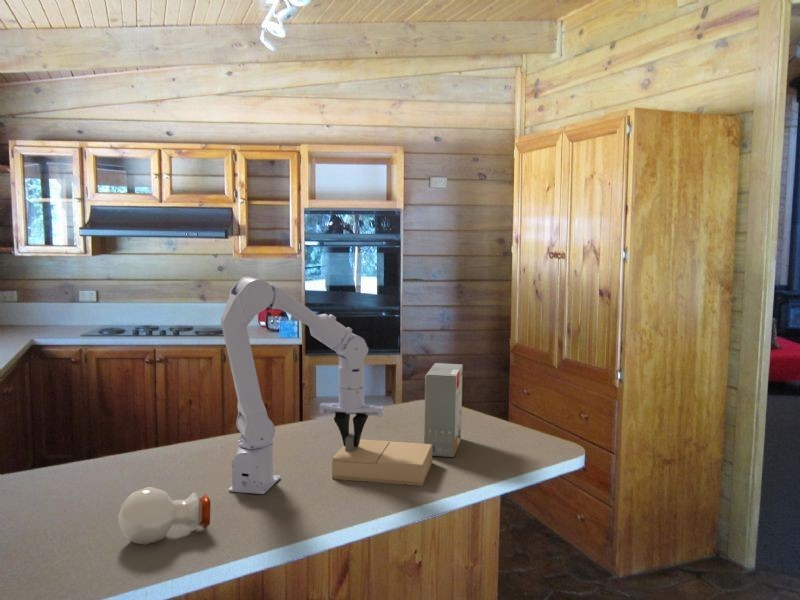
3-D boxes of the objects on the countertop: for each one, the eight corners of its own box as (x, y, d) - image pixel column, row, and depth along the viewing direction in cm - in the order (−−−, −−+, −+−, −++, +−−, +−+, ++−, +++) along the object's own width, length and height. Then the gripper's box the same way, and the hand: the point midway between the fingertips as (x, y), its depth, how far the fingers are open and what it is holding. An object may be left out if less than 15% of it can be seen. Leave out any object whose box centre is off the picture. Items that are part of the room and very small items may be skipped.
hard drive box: (454, 458, 157) (455, 376, 155) (423, 456, 158) (423, 374, 156) (461, 438, 172) (462, 363, 170) (432, 436, 174) (433, 361, 171)
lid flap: (376, 463, 142) (376, 447, 141) (332, 460, 144) (332, 444, 143) (389, 443, 155) (389, 428, 155) (349, 440, 157) (349, 426, 157)
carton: (422, 486, 140) (422, 465, 140) (332, 478, 144) (331, 458, 144) (432, 463, 154) (432, 443, 153) (349, 456, 158) (349, 438, 157)
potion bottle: (113, 552, 114) (202, 543, 121) (120, 539, 107) (214, 530, 114) (114, 498, 119) (200, 492, 126) (121, 482, 111) (211, 477, 118)
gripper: (386, 384, 151) (386, 441, 152) (325, 380, 154) (326, 437, 155) (379, 391, 144) (379, 451, 145) (316, 388, 147) (316, 447, 148)
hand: (351, 445), depth 150 cm, fingers closed on lid flap, 2 cm apart
